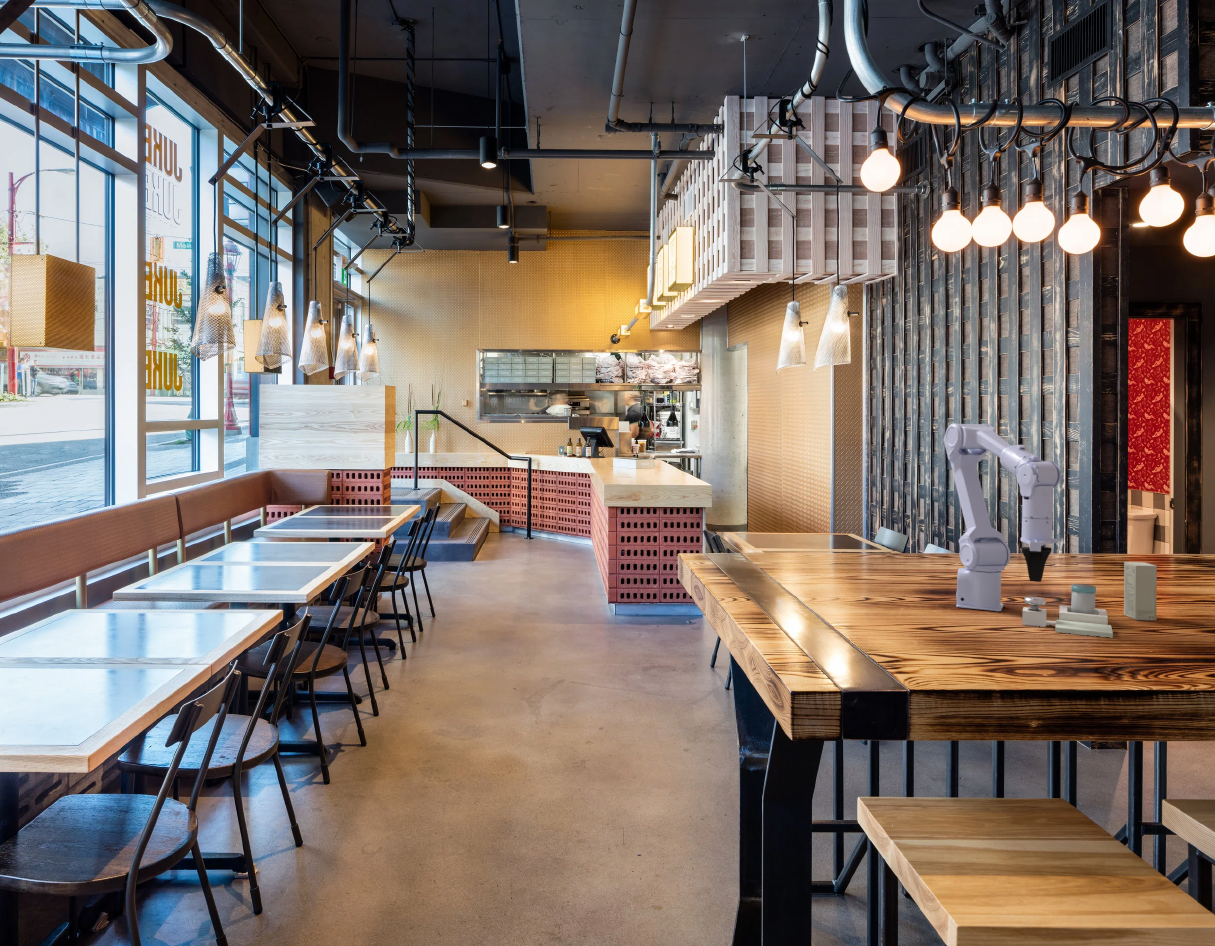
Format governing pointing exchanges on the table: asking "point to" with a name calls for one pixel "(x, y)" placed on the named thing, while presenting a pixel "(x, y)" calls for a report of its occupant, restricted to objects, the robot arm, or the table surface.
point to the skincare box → (1140, 590)
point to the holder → (1062, 616)
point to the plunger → (1034, 602)
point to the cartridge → (1083, 598)
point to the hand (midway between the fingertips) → (1035, 581)
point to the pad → (1083, 628)
